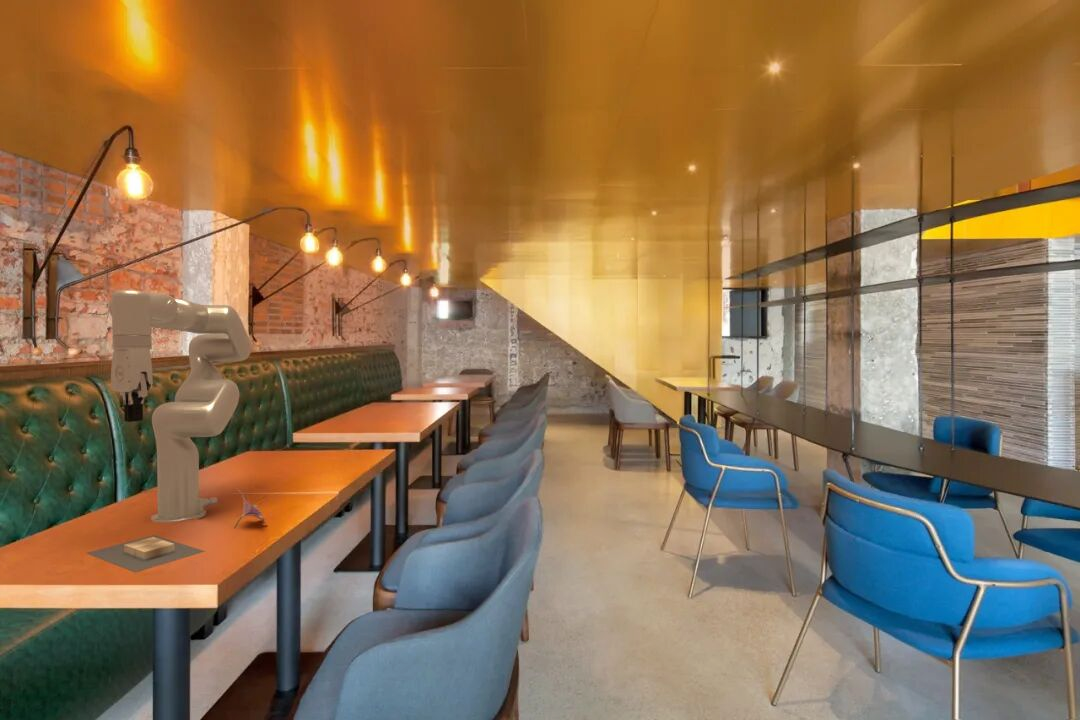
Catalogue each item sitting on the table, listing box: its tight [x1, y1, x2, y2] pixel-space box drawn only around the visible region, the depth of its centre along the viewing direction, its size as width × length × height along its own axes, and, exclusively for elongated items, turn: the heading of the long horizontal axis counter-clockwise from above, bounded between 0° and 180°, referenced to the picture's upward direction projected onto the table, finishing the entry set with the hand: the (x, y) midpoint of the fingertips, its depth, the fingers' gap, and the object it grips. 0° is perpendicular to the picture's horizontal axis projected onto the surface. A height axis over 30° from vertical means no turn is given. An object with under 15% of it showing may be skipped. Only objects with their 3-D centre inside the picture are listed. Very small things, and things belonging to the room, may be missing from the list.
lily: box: [233, 487, 268, 529], centre depth 148 cm, size 12×12×10 cm
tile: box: [124, 537, 175, 561], centre depth 127 cm, size 6×2×9 cm
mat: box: [86, 534, 206, 573], centre depth 128 cm, size 14×22×1 cm, turn 60°
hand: (133, 420), depth 135 cm, fingers closed
